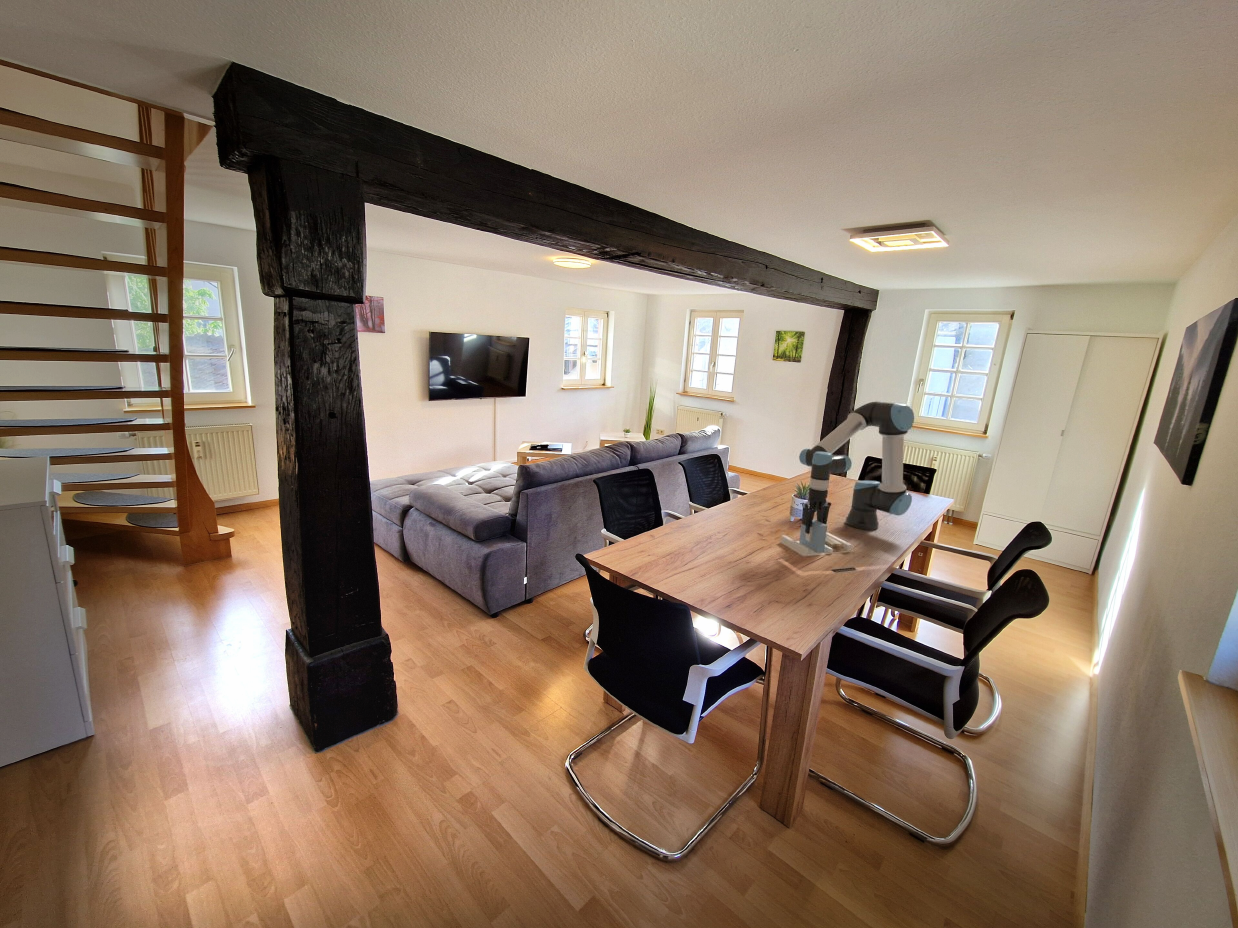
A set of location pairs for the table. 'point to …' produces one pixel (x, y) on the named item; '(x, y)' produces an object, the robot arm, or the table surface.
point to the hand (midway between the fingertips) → (812, 539)
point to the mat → (844, 570)
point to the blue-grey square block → (814, 536)
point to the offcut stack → (834, 544)
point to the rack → (808, 552)
